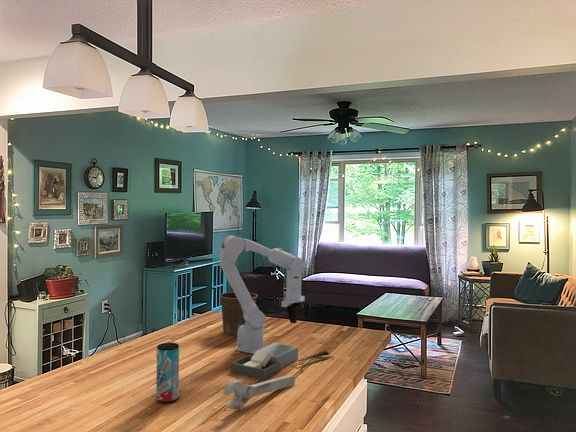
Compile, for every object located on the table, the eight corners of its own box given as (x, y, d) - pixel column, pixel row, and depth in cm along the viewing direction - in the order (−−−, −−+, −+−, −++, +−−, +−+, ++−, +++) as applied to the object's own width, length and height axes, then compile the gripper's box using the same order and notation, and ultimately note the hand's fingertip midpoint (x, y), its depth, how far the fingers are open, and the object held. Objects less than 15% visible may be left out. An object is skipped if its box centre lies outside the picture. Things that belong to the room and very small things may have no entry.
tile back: (252, 365, 154) (250, 359, 153) (259, 355, 158) (257, 350, 157) (264, 367, 152) (262, 361, 151) (270, 358, 156) (269, 352, 155)
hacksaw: (325, 353, 174) (325, 349, 174) (346, 360, 166) (346, 356, 166) (276, 367, 158) (276, 362, 158) (296, 375, 151) (296, 371, 151)
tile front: (250, 360, 154) (250, 368, 154) (242, 364, 150) (242, 372, 150) (261, 363, 152) (261, 370, 152) (254, 367, 148) (254, 375, 148)
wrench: (294, 394, 142) (225, 416, 118) (289, 392, 143) (220, 414, 119) (296, 367, 143) (229, 384, 119) (291, 365, 144) (223, 382, 120)
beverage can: (154, 397, 130) (155, 343, 130) (176, 394, 133) (176, 341, 133) (157, 405, 125) (158, 350, 125) (180, 402, 127) (181, 347, 127)
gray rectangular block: (252, 364, 160) (252, 352, 159) (274, 353, 172) (274, 342, 171) (276, 369, 154) (277, 357, 154) (297, 358, 166) (297, 347, 166)
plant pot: (249, 326, 211) (250, 290, 210) (262, 335, 196) (263, 297, 195) (214, 329, 204) (214, 292, 204) (224, 339, 189) (225, 299, 189)
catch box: (230, 371, 152) (230, 362, 152) (247, 363, 160) (247, 355, 160) (263, 380, 145) (264, 370, 145) (280, 371, 153) (280, 362, 153)
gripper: (293, 291, 172) (292, 328, 172) (311, 285, 184) (311, 320, 184) (277, 289, 175) (276, 325, 175) (296, 284, 188) (295, 317, 188)
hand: (293, 322), depth 180 cm, fingers closed
